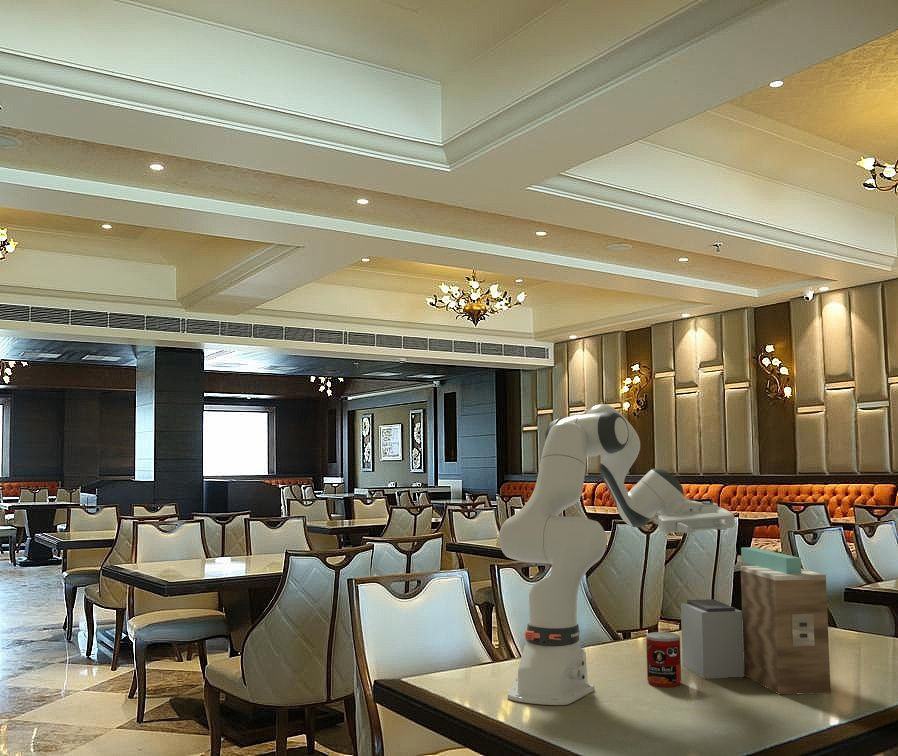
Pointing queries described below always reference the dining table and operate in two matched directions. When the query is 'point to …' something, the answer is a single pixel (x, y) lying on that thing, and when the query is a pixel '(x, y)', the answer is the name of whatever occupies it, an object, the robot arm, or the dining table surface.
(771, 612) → the stand
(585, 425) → the robot arm
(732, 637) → the phone dock
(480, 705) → the dining table surface
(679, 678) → the canned food
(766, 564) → the long teal bar
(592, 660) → the dining table surface
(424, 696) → the dining table surface
